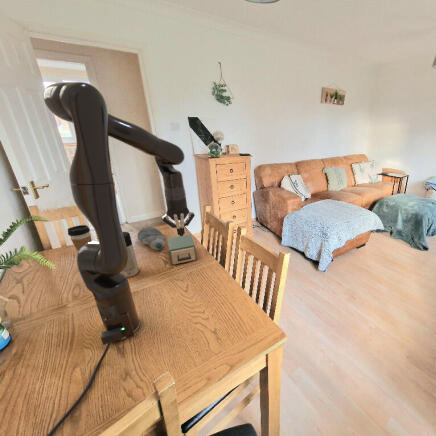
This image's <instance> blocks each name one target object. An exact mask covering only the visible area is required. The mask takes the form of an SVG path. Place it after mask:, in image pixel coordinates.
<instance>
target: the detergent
mask: <svg viewBox="0 0 436 436" xmlns="http://www.w3.org/2000/svg"><path fill="white" fill-rule="evenodd" d="M165 237H166V236H165V234H163V233H162V232H161V231H160V230H159V229H157V228H156V227H153V226H145V227H142V228H141V229H140V230H139V231H138V232H137V240H138V241H140V242H142V244H144V245H149V247H150V248H151V249H153V250H155V251H159V250H162V249H163V248H164V247H165V245H166V241H165Z"/></svg>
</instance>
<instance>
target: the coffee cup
mask: <svg viewBox="0 0 436 436" xmlns="http://www.w3.org/2000/svg"><path fill="white" fill-rule="evenodd" d="M90 231H91V229H90V227H89V226H88V225H87V224H83V225H82V224H81V225H75V226H71V227H69V228H67V235H68V236H69V237H70V240H71V242H72V244H73V246H74V248H75V250H76V252H77V253H78V252H79V250H80V249H81V247H83V246H84V245H85V244H87V243H90V242H93V241H92V236H91V233H90Z"/></svg>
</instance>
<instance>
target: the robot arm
mask: <svg viewBox="0 0 436 436" xmlns="http://www.w3.org/2000/svg"><path fill="white" fill-rule="evenodd" d="M42 96H43V101H44V104H45V106H46V107H47V109H48V110H49V111H50V112H51V113H52V114H53V115H54V116H56V117H57V118H59V119H61V120H63V121H65V122H69V123H72V124H73V128H74V131H75V132H74V133H75V139H76V140H75V141H76V143H75V145H76V146H75V151H74V154H73V158H72V161H71V164H70V168H69V173H68V177H69V185H70V191H71V196H72V198H73V201H74V204H75V205H76V207H77V208H78V210H79V212H80V213H81V214H82V215H83V216H84V217H85V218H86V220H87V221H88V222H89V224H90V225H91V226H92V229H94V231H95V233H96V235H97V236H96V237H97V240H98V241H92V242H90V243H87V244H85V245H84V246H83V247H81V249H80V250H79V252H77V255H76V265H77V270H78V271H79V274H80V276H81V278H82V280H83V283H84V285H85V287H86V289H87V290H88V291H90V293H92V296H93V299H94V301H95V304H96V307H97V308H96V309H97V310H98V313H99V317H100V320H101V322H102V325H103V329H104V330H105V331H102V332H101V336H100V340H101V343H102V345H103V346H104V345H106V347H105V349H104V350H103V353H102V355H101V357H100V359H99V360H98V362H97V365H96V366H95V368H94V371H93V373H92V375H91V378H89V382H87V385H86V387H85V389H84V390H83V391H82V393H81V394H80V395H79V397H78V398H77V399H76V401H75V402H74V403H73V404H72V406H71V407H70V408H69V409H68V410H67V412H65V414H64V415H63V416H62V417H61V418H60V420H59V421H58V422H57V424H55V426H54V427H53V428H52V430H51V431H49V433H48V434H47V435H46V436H53V434H54V433H55V432H56V431H57V430H58V428H59V427H60V426H61V425H62V424H63V423H64V421H65V420H66V419H67V417H68V416H69V415H70V414H71V413H72V412H73V411H74V409H75V408H76V407H77V406H78V405H79V403H80V402H81V401H82V399H83V398H84V397H85V395H86V394H87V392H88V391H89V390H90V388H91V385H92V384H93V382H94V380H95V377H96V374H97V373H98V370H99V369H100V366H101V365H102V363H103V360H104V359H105V357H106V354H107V353H108V351H109V348H110V346H111V344H113V343H117V342H120V341H123V340H127V339H129V338H132V337H135V333H136V332H137V331H139V329H140V327H141V321H140V319H139V315H138V311H137V307H136V304H135V301H134V297H133V294H132V290H131V286H130V282H129V279H128V277H126V276H125V275H124V274H122V273H121V272H122V271H123V270H124V269H125V267H126V265H127V261H128V251H127V247H126V243H125V239H124V236H123V232H124V231H123V228H122V226H121V225H122V224H121V219H120V214H119V209H118V201H117V193H116V186H115V180H114V174H113V167H112V160H111V151H110V142H109V140H110V139H109V137H110V138H113V139H115V140H117V141H118V142H121V143H123V144H125V145H127V146H129V147H132V148H134V149H135V150H137V151H140V153H141V152H142V153H144V154H145V155H148V156H152V157H153V159H154V161H155V164H156V166H157V168H158V170H159V172H160V175H161V177H162V182H163V189H164V191H163V192H164V198H165V204H166V213H165V215H162V216H161V220H162V221H163V222H164V223H165V224H167V225H168V226H169V227H171V228H172V229H176V235H177V236H183V235H186V230H185V227H189V225H190V224H191V222H192V220H193V219H194V218H195V217H196V215H195V213H194V211H190V209H189V208H188V202H187V196H186V195H187V194H186V189H185V185H184V177H183V173H182V172H181V171H180V170H178V169H176V168H175V167H174V166H179V165H181V164H183V163H184V161H185V152H184V150H182V148H181V147H180V146H178V145H177V144H175V143H172V142H170V141H168V140H166V139H164V138H163V139H162V138H161V137H159V136H156V135H155V134H154V133H152V132H150V131H149V130H147V129H146V128H143V127H142V126H139V125H138V124H134V123H133V122H130V121H127V120H124V119H122V118H119V117H118V116H115V115H113V114H111V113H108V111H109V110H108V105H107V101H106V100H105V98H104V96H103V94H102V93H101V91H100V90H99V89H98V88H97V87H95V86H94V85H92V84H90V83H88V82H85V81H67V82H55V83H52V84H50V85H48V86H46V88H45V89H44V91H43V94H42ZM170 219H171V220H172V221H171V220H170ZM185 219H186V220H185ZM173 221H174V222H173Z"/></svg>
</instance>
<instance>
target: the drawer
mask: <svg viewBox="0 0 436 436" xmlns="http://www.w3.org/2000/svg"><path fill="white" fill-rule="evenodd" d="M171 256H172V261H173V264H174V265H179V264H183V263H188V262H192V261H191V260H193V261H197V260H196V259H197V258H196V259H195V252H194V247H189V248H186V249H181V250H174V251H171ZM187 261H188V262H187ZM182 262H183V263H182ZM178 263H179V264H178Z"/></svg>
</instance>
